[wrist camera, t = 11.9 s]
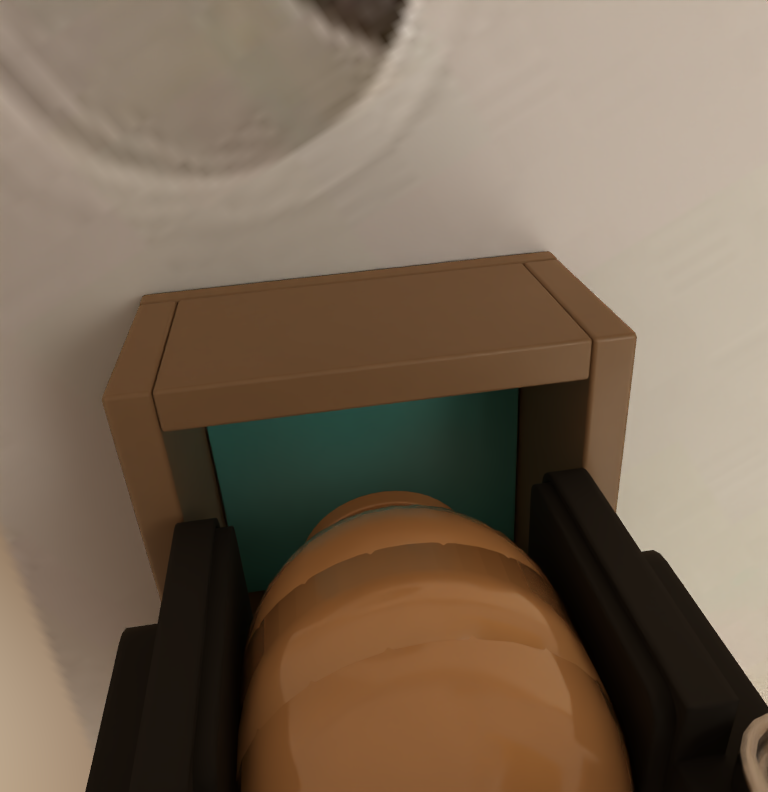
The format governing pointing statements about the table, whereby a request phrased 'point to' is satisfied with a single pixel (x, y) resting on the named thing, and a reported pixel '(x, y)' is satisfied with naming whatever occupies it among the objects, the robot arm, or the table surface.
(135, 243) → the table surface
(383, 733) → the egg
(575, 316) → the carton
